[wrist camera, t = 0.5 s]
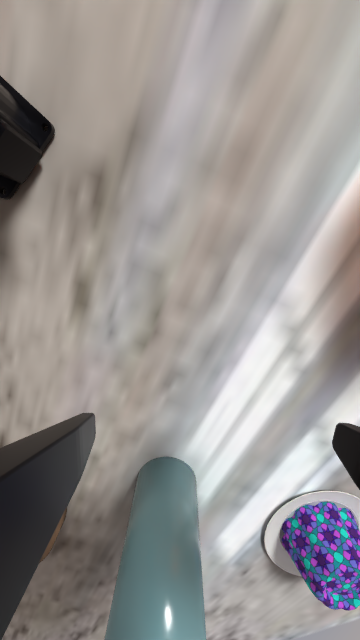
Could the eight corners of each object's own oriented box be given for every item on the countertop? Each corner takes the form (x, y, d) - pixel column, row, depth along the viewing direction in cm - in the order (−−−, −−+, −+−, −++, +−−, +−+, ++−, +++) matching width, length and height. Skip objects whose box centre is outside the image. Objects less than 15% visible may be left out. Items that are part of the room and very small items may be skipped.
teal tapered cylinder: (125, 483, 26) (70, 700, 13) (163, 446, 25) (144, 643, 12) (169, 514, 27) (158, 745, 14) (208, 480, 26) (234, 696, 13)
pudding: (395, 530, 27) (444, 592, 22) (307, 585, 29) (333, 653, 24) (329, 463, 25) (366, 515, 20) (239, 528, 27) (252, 589, 22)
